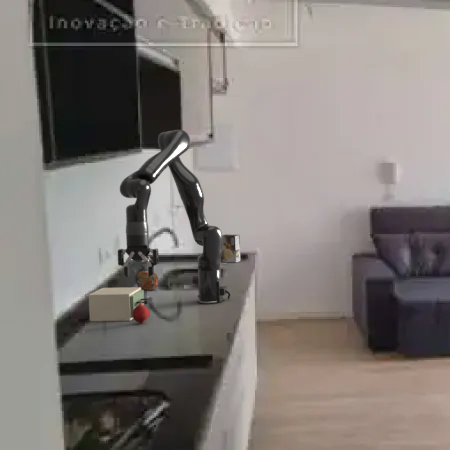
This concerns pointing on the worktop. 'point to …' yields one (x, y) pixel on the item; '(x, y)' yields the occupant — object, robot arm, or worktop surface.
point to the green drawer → (138, 300)
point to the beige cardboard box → (111, 304)
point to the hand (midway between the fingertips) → (139, 276)
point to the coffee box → (231, 248)
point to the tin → (146, 280)
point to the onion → (140, 313)
